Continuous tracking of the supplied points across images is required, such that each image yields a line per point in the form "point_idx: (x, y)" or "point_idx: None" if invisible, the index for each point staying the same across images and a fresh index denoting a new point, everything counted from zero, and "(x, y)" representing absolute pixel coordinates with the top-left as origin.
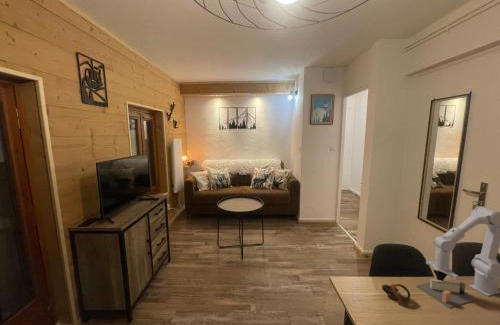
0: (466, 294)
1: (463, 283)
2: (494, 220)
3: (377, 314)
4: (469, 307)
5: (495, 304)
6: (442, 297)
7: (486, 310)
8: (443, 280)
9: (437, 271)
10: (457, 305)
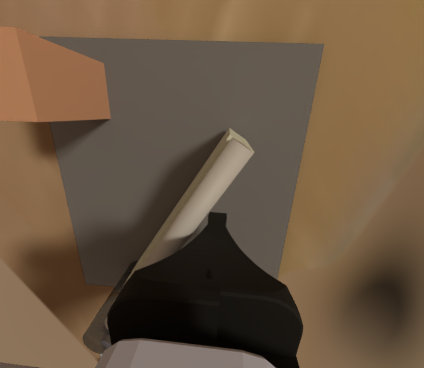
0: None
1: (99, 348)
2: None
3: None
4: (40, 187)
5: (54, 315)
6: (76, 52)
7: (17, 242)
8: None
9: (234, 336)
10: (55, 132)
